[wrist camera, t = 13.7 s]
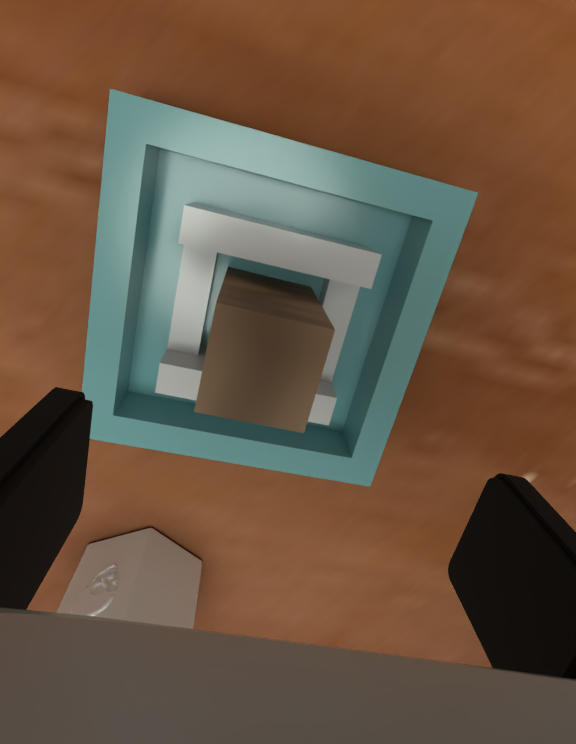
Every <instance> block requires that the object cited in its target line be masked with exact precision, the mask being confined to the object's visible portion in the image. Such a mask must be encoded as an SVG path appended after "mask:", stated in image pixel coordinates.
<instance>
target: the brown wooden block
mask: <svg viewBox="0 0 576 744" xmlns="http://www.w3.org/2000/svg"><path fill="white" fill-rule="evenodd" d="M334 332H335V329H334V327H333V325H332V323H331V321H330V320H329V318H328V316H327V314H326V313H325V311H324V309H323V307H322V305H321V304H320V302H319V300H318V298H317V296H316V295H315V293H314V291H313V289H312V288H311V287H310V286H306V285H302V284H298V283H293V282H289V281H285V280H281V279H277V278H273V277H269V276H265V275H261V274H257V273H252V272H248V271H244V270H240V269H236V268H232V267H228V268H227V271H226V274H225V277H224V280H223V283H222V286H221V289H220V292H219V295H218V298H217V301H216V305H215V310H214V315H213V320H212V325H211V330H210V335H209V340H208V345H207V350H206V355H205V360H204V365H203V370H202V375H201V380H200V385H199V390H198V395H197V400H196V405H195V409H194V412H197V413H202V414H207V415H213V416H218V417H223V418H228V419H233V420H238V421H244V422H249V423H254V424H259V425H264V426H270V427H275V428H280V429H285V430H290V431H295V432H301V433H304V432H305V428H306V425H307V422H308V418H309V415H310V412H311V408H312V405H313V402H314V398H315V395H316V392H317V389H318V385H319V382H320V379H321V375H322V372H323V369H324V365H325V362H326V359H327V355H328V352H329V349H330V346H331V342H332V339H333V336H334Z"/></svg>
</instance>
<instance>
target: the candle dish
mask: <svg viewBox="0 0 576 744" xmlns="http://www.w3.org/2000/svg"><path fill="white" fill-rule="evenodd" d="M477 195H478V193H477V192H474V191H470V190H467V189H463V188H460V187H456V186H452V185H449V184H445V183H442V182H438V181H435V180H431V179H428V178H424V177H421V176H417V175H414V174H410V173H407V172H403V171H399V170H396V169H392V168H389V167H385V166H382V165H378V164H375V163H371V162H368V161H364V160H361V159H357V158H353V157H350V156H346V155H343V154H339V153H336V152H332V151H329V150H325V149H322V148H318V147H315V146H311V145H307V144H304V143H300V142H297V141H293V140H290V139H286V138H283V137H279V136H276V135H272V134H269V133H265V132H262V131H258V130H254V129H251V128H247V127H244V126H240V125H237V124H233V123H230V122H226V121H223V120H219V119H216V118H212V117H208V116H205V115H201V114H198V113H194V112H191V111H187V110H184V109H180V108H177V107H173V106H170V105H166V104H162V103H159V102H155V101H152V100H148V99H145V98H141V97H138V96H134V95H131V94H127V93H124V92H120V91H117V90H113V89H110V95H109V106H108V116H107V127H106V138H105V149H104V159H103V170H102V181H101V192H100V203H99V213H98V224H97V235H96V246H95V257H94V267H93V278H92V289H91V300H90V310H89V321H88V332H87V343H86V354H85V364H84V375H83V386H82V392H83V393H84V394H85V400H90V401H92V402H93V412H92V421H91V430H90V439H93V440H99V441H105V442H111V443H117V444H123V445H128V446H134V447H140V448H146V449H152V450H158V451H164V452H170V453H175V454H181V455H187V456H193V457H199V458H205V459H211V460H216V461H222V462H228V463H234V464H240V465H246V466H252V467H257V468H263V469H269V470H275V471H281V472H287V473H293V474H299V475H304V476H310V477H316V478H322V479H328V480H334V481H340V482H345V483H351V484H357V485H363V486H369V487H370V486H371V483H372V481H373V478H374V475H375V472H376V470H377V467H378V464H379V462H380V459H381V456H382V453H383V451H384V448H385V445H386V443H387V440H388V437H389V434H390V432H391V429H392V426H393V424H394V421H395V418H396V415H397V413H398V410H399V407H400V405H401V402H402V399H403V396H404V394H405V391H406V388H407V385H408V383H409V380H410V377H411V375H412V372H413V369H414V366H415V364H416V361H417V358H418V356H419V353H420V350H421V347H422V345H423V342H424V339H425V337H426V334H427V331H428V328H429V326H430V323H431V320H432V318H433V315H434V312H435V309H436V307H437V304H438V301H439V299H440V296H441V293H442V290H443V288H444V285H445V282H446V280H447V277H448V274H449V271H450V269H451V266H452V263H453V261H454V258H455V255H456V252H457V250H458V247H459V244H460V241H461V239H462V236H463V233H464V231H465V228H466V225H467V222H468V220H469V217H470V214H471V212H472V209H473V206H474V203H475V201H476V198H477ZM228 267H232V268H236V269H240V270H244V271H248V272H252V273H257V274H261V275H265V276H269V277H273V278H277V279H281V280H285V281H289V282H293V283H298V284H302V285H306V286H310V287H311V288H312V289H313V291H314V293H315V295H316V296H317V298H318V300H319V302H320V304H321V305H322V307H323V309H324V311H325V313H326V314H327V316H328V318H329V320H330V321H331V323H332V325H333V327H334V329H335V332H334V336H333V339H332V342H331V346H330V349H329V352H328V355H327V359H326V362H325V365H324V369H323V372H322V375H321V379H320V382H319V385H318V389H317V392H316V395H315V398H314V402H313V405H312V408H311V412H310V415H309V418H308V422H307V425H306V428H305V432H304V433H301V432H295V431H290V430H285V429H280V428H275V427H270V426H264V425H259V424H254V423H249V422H244V421H238V420H233V419H228V418H223V417H218V416H213V415H207V414H202V413H197V412H194V409H195V405H196V400H197V395H198V390H199V385H200V380H201V375H202V370H203V365H204V360H205V355H206V350H207V345H208V340H209V335H210V330H211V325H212V320H213V315H214V310H215V305H216V301H217V298H218V295H219V292H220V289H221V286H222V283H223V280H224V277H225V274H226V271H227V268H228Z"/></svg>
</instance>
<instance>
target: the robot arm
mask: <svg viewBox="0 0 576 744" xmlns="http://www.w3.org/2000/svg"><path fill="white" fill-rule="evenodd" d="M92 412H93V402H92V401H90V400H85V394H84V393H83V392H78V391H73V390H68V389H63V388H57V387H55V388H54V389H53V390H51V391H50V392H49V393H48V394H47V395H46V396H45V397H44V398H43V399H42V400H41V401H40V402H38V403H37V404H36V405H35V406H34V407H33V408H32V409H31V410H30V411H29V412H28V413H26V414H25V415H24V416H23V417H22V418H21V419H20V420H19V421H18V422H17V423H16V424H15V425H13V426H12V427H11V428H10V429H9V430H8V431H7V432H6V433H5V434H4V435H3V436H2V437H0V744H576V532H575V531H574V530H573V529H572V528H571V527H570V526H569V525H568V524H567V523H566V521H565V520H564V519H563V518H562V517H561V516H560V515H559V514H558V513H557V512H556V511H555V510H554V509H553V507H552V506H551V505H550V504H549V503H548V502H547V501H546V500H545V499H544V498H543V497H542V496H541V495H540V493H539V492H538V491H537V490H536V489H535V488H534V487H533V486H532V485H531V484H530V483H529V482H528V481H527V480H526V479H525V478H522V477H517V476H512V475H506V474H501V473H500V474H497V475H496V476H495V477H494V478H490V479H489V480H488V481H487V483H486V485H485V487H484V489H483V491H482V494H481V496H480V498H479V500H478V502H477V504H476V506H475V509H474V511H473V513H472V515H471V517H470V519H469V522H468V524H467V526H466V528H465V530H464V532H463V535H462V537H461V539H460V541H459V543H458V545H457V548H456V550H455V552H454V554H453V556H452V558H451V561H450V563H449V567H448V574H449V578H450V581H451V583H452V585H453V587H454V589H455V591H456V593H457V595H458V597H459V599H460V601H461V603H462V605H463V607H464V610H465V612H466V614H467V616H468V618H469V620H470V622H471V624H472V626H473V628H474V630H475V632H476V634H477V636H478V638H479V640H480V642H481V644H482V647H483V649H484V651H485V653H486V655H487V657H488V659H489V661H490V663H491V665H492V667H493V668H489V667H482V666H474V665H467V664H460V663H452V662H445V661H437V660H430V659H422V658H415V657H407V656H400V655H392V654H385V653H377V652H369V651H362V650H354V649H346V648H339V647H331V646H324V645H316V644H308V643H301V642H293V641H285V640H277V639H269V638H261V637H253V636H245V635H237V634H229V633H221V632H213V631H206V630H198V629H190V628H182V627H174V626H166V625H158V624H150V623H142V622H134V621H126V620H118V619H110V618H103V617H95V616H87V615H76V614H65V613H54V612H43V611H32V610H26V609H27V607H28V605H29V604H30V602H31V600H32V598H33V597H34V595H35V593H36V591H37V590H38V588H39V586H40V584H41V583H42V581H43V579H44V577H45V576H46V574H47V572H48V570H49V569H50V567H51V565H52V563H53V562H54V560H55V558H56V556H57V555H58V553H59V551H60V550H61V548H62V546H63V544H64V543H65V541H66V539H67V537H68V536H69V534H70V532H71V530H72V529H73V527H74V525H75V523H76V522H77V520H78V517H79V515H80V512H81V508H82V504H83V495H84V486H85V477H86V467H87V458H88V449H89V440H90V430H91V421H92Z"/></svg>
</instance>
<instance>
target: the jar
mask: <svg viewBox="0 0 576 744" xmlns="http://www.w3.org/2000/svg"><path fill="white" fill-rule="evenodd" d="M201 570H202V561H201V560H200V559H198V558H197V557H195V556H194V555H192V554H191V553H189V552H188V551H186V550H185V549H183V548H182V547H180V546H179V545H177V544H176V543H174V542H173V541H171V540H170V539H168V538H167V537H165V536H164V535H162V534H161V533H159V532H158V531H156V530H155V529H153V528H147V529H143V530H140V531H136V532H132V533H128V534H124V535H121V536H117V537H113V538H109V539H106V540H102V541H98V542H94V543H90V544H89V545H88V546H87V547H86V549H85V551H84V554H83V556H82V558H81V560H80V562H79V564H78V566H77V569H76V571H75V573H74V575H73V577H72V579H71V581H70V584H69V586H68V588H67V590H66V592H65V594H64V596H63V598H62V601H61V603H60V605H59V607H58V609H57V611H56V613H65V614H76V615H87V616H95V617H103V618H110V619H118V620H126V621H134V622H142V623H150V624H158V625H166V626H174V627H182V628H190V629H193V627H194V620H195V613H196V606H197V599H198V592H199V584H200V577H201Z"/></svg>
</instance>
